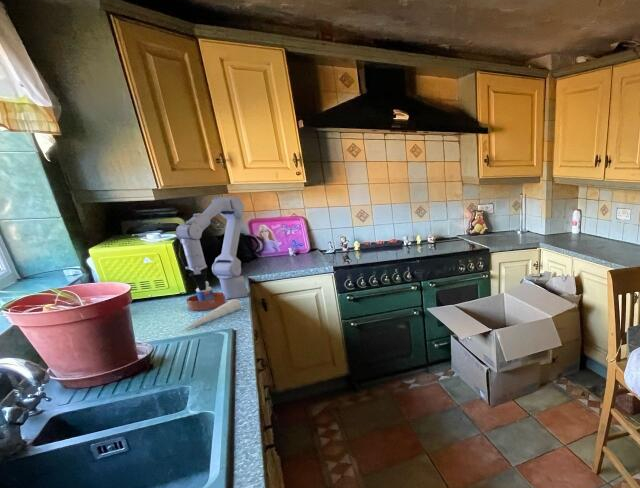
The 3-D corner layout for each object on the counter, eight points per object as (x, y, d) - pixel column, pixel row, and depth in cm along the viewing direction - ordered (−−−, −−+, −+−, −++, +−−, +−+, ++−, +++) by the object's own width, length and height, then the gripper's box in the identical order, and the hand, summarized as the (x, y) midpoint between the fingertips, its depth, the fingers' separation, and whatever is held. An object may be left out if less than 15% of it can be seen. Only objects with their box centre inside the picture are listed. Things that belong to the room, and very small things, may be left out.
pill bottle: (207, 307, 173) (201, 284, 169) (196, 306, 174) (190, 283, 170) (219, 303, 178) (213, 281, 174) (208, 302, 179) (202, 280, 175)
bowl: (226, 299, 184) (224, 290, 183) (226, 307, 174) (224, 298, 173) (190, 304, 178) (187, 295, 176) (188, 313, 168) (185, 303, 166)
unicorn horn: (177, 329, 151) (173, 317, 150) (234, 309, 173) (231, 297, 171) (187, 330, 150) (183, 318, 149) (243, 310, 172) (240, 298, 170)
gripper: (183, 253, 172) (192, 285, 177) (180, 259, 161) (190, 293, 165) (204, 251, 176) (212, 282, 180) (202, 257, 164) (211, 290, 169)
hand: (203, 287), depth 173 cm, fingers open, 7 cm apart
